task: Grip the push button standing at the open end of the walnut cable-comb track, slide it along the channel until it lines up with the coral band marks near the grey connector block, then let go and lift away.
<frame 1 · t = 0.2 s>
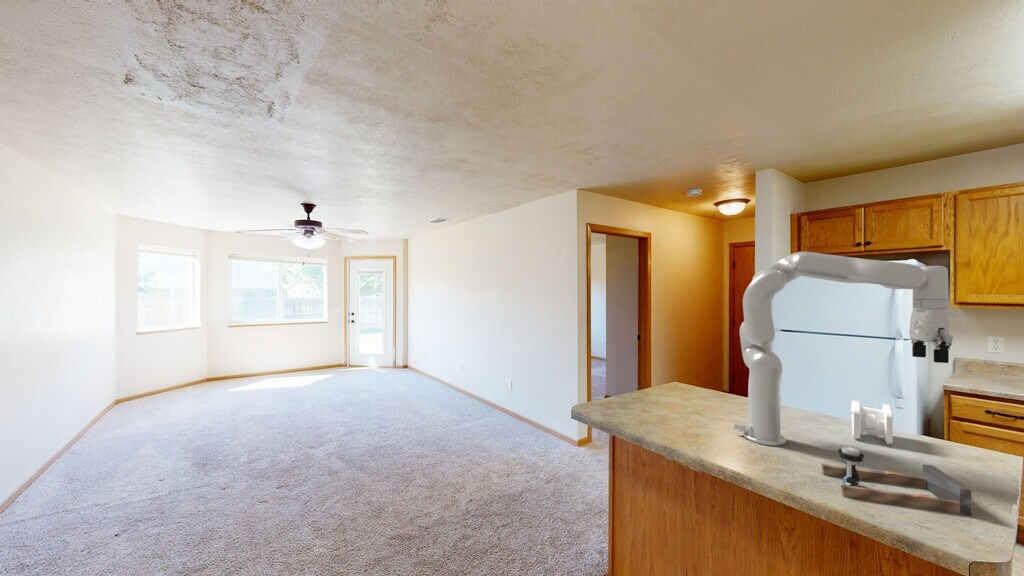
hand: (929, 359, 121), 31 cm above the countertop, tool pointing down, fingers open, 9 cm apart
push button: (850, 487, 105), on the countertop
cable organizer: (870, 438, 138), on the countertop
comb track: (888, 492, 102), on the countertop
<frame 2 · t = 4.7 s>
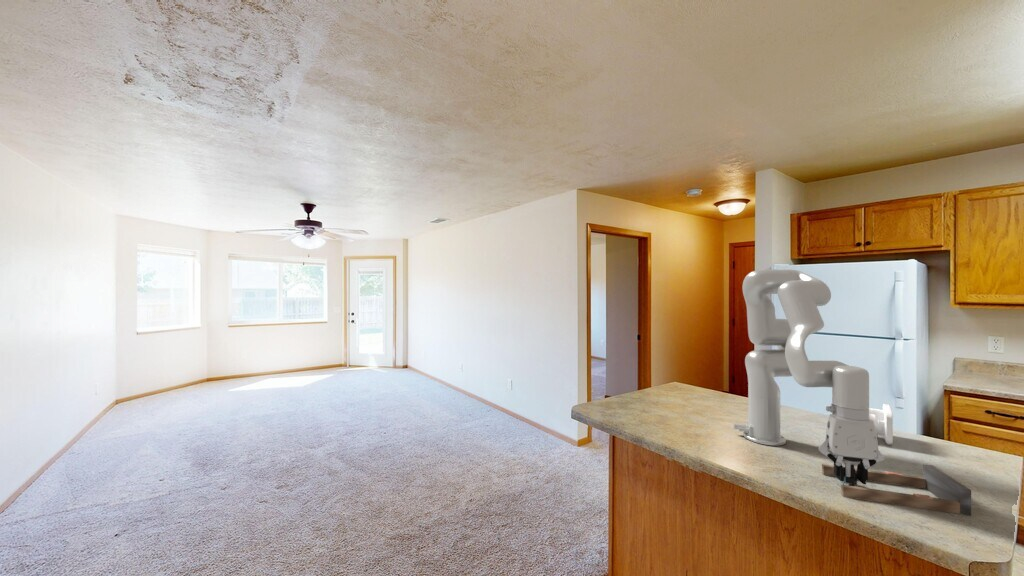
hand: (850, 479, 104), 2 cm above the countertop, tool pointing down, fingers closed on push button, 4 cm apart
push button: (848, 487, 105), on the countertop, touching gripper
everything else where it was.
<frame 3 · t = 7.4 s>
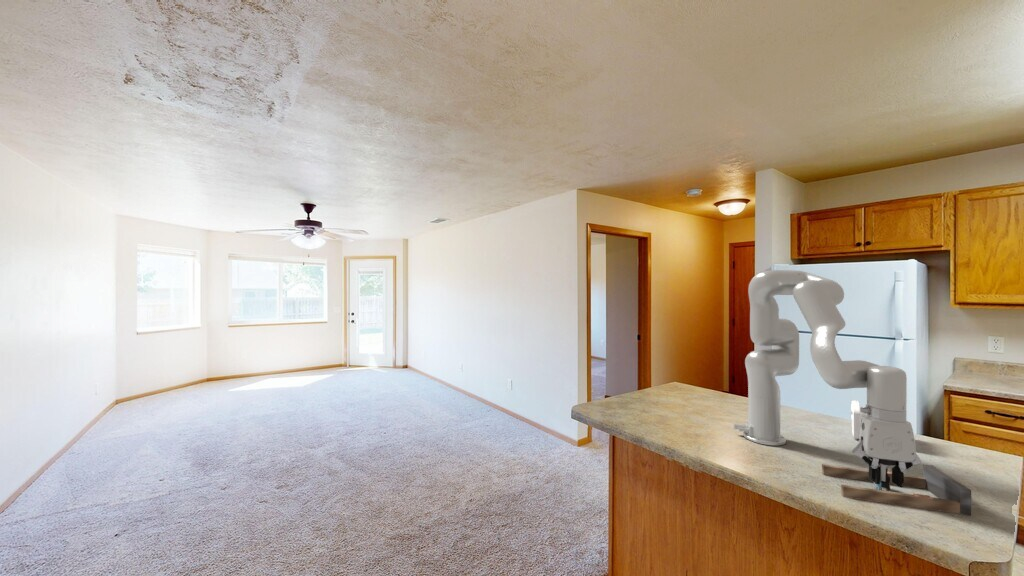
hand: (885, 482, 102), 2 cm above the countertop, tool pointing down, fingers open, 3 cm apart
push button: (881, 491, 102), on the countertop, touching gripper
everything else where it was.
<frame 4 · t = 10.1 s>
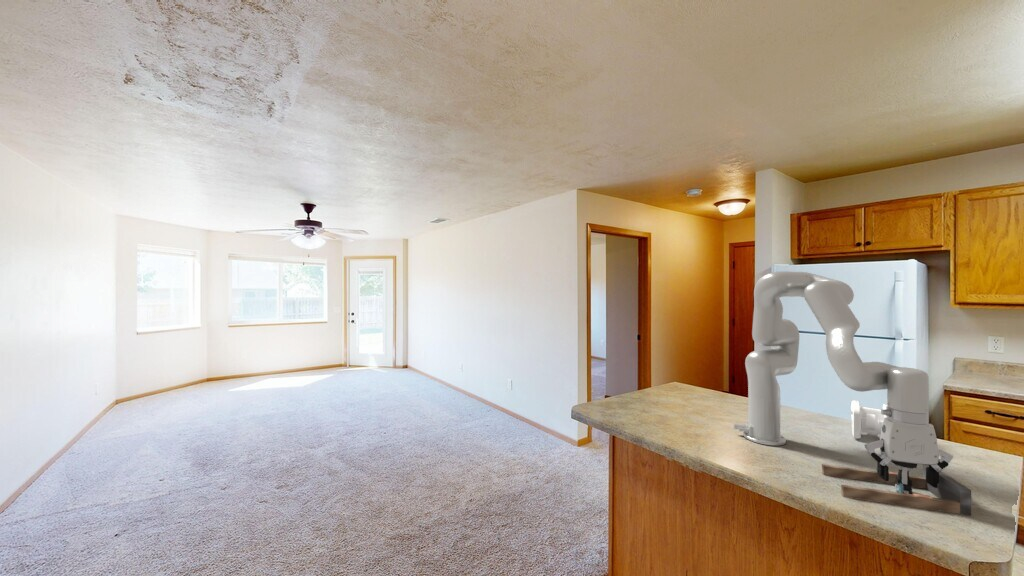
hand: (907, 481, 100), 3 cm above the countertop, tool pointing down, fingers open, 9 cm apart
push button: (904, 494, 101), on the countertop
everything else where it was.
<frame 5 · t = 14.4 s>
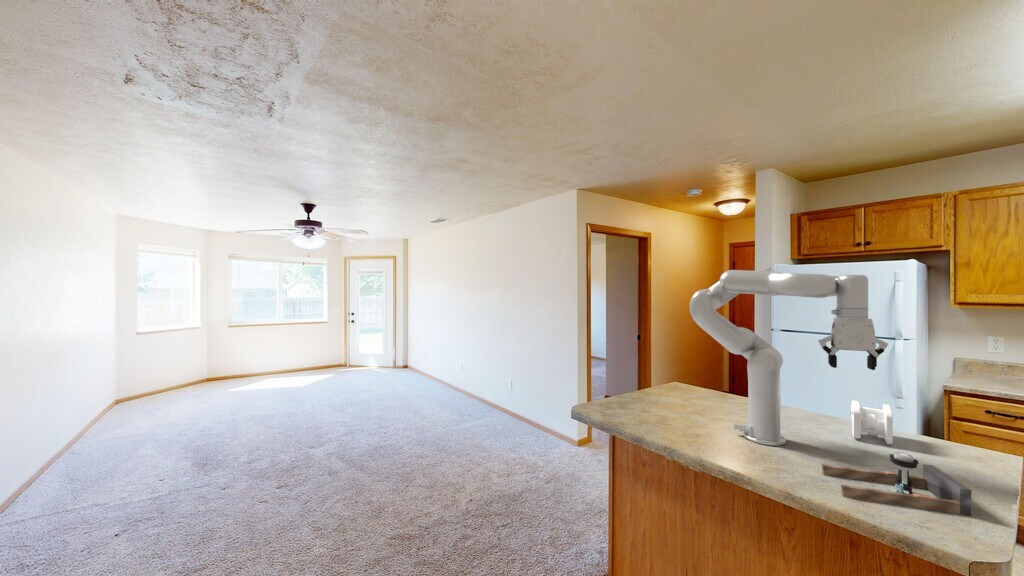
hand: (852, 368, 122), 28 cm above the countertop, tool pointing down, fingers open, 9 cm apart
nothing on the countertop moved.
at the end: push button 0.8 cm from the target spot, on the countertop; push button tilted 0°; the gripper is holding nothing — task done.
